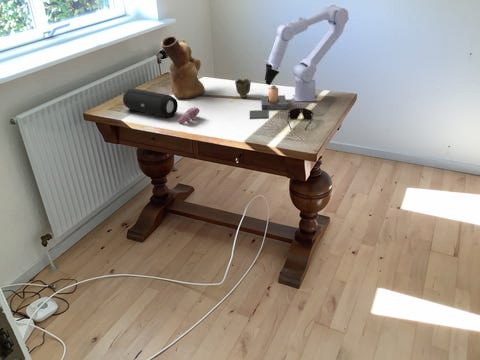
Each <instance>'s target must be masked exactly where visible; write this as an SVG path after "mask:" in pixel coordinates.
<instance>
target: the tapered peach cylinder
mask: <svg viewBox="0 0 480 360" xmlns="http://www.w3.org/2000/svg"><path fill="white" fill-rule="evenodd" d="M268 96H269V102H278V96H279V87H278V86H277V85H275V84H274V85H272V84H271V85H270V87H269V88H268Z"/></svg>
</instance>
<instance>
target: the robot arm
mask: <svg viewBox="0 0 480 360" xmlns="http://www.w3.org/2000/svg"><path fill="white" fill-rule="evenodd" d="M349 20H350V19H349V11H348V9H346V8H342V7H339V6H337V5H334V4H332V5H331V4H330V5H329V6H327V7H324V8H323V9H321V10H320V11H318V12H316V13H314V14H312V15H309V16H308V17H306V18H305V17H303V16H302V17H300V16H298V17H296V19H295V20H293V21H289V22H287V23H286V24H280V25H279V26H278V27H277V28H276V30H275V34H276V37H275V40H274V43H273V46H272V49H271V52H270V55H269V57H268V59H265V62H266V63H265V67H266V69H265V76H264V81H265V85H268V86H271V85H272V83H273V81H274V79H275V78H276V76H277V75H279V73H280V71H278V69H279V68H281V64H282V61H283V59H284V56H285V54H286V51H287V48H288V45H289V42H290V41H291V40H292V39H294V37H295V36H297V35H299V34H301V33H303V32H305V31H307V30H308V29H309V27H310V26H312V25H315V24H317V23H320V22H322V21H327V22H328V27H329V29H328V30H327V33H325V34H324V36H323V38H321V40H320V41H319V42H318V44H316V46H315V48H314V49H312V51H311V52H310V54H308V56H307V57H306V58H303V59H301V61H299V63H297V64H295V65H294V67H293V69H292V73H293V75H294V77H295V78H294V87H295V88H294V94H293V95H292V96H293V99H294V100H293V101H294V102H295V103H297V102H315V101H316V79H313V78H314V76H315V74H316V72H317V65H318V64H319V62H321V61H322V60H323V58H324V57H325V55H327V53H328V52H329V51H330V49H331V48H332V47H333V45H334V44H336V42H337V41H338V39H339V38H340V36H342V34H343V32H344V29H345V26H346V24H347V23H348V21H349Z"/></svg>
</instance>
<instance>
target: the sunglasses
mask: <svg viewBox="0 0 480 360" xmlns="http://www.w3.org/2000/svg"><path fill="white" fill-rule="evenodd" d="M300 114H302V117H303V119H304V120H308V121H309V123H308V124H307V125H306V127H305V128H304V131H306V130H307V128H308V127H309V125H310V124H311V123H312V120H313V117H314V112H313V110H311V109H309V108H305V107H304V108H303V107H295V108H291V109H290V110H289V111H288V112H287V124H288V125H289V129H290V130H292V127H291V124H290V122H289V120H290V119H291V120H295V119H296V120H297V119H298V118H299V116H300Z"/></svg>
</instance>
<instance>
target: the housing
mask: <svg viewBox="0 0 480 360" xmlns="http://www.w3.org/2000/svg"><path fill="white" fill-rule="evenodd" d="M260 98H261V99H260V100H261V101H260V102H261V110H268V111H282V110H287V101H286V100H287V99H286V95H285V94H284V95H278V102H269V95H261V97H260Z"/></svg>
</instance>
